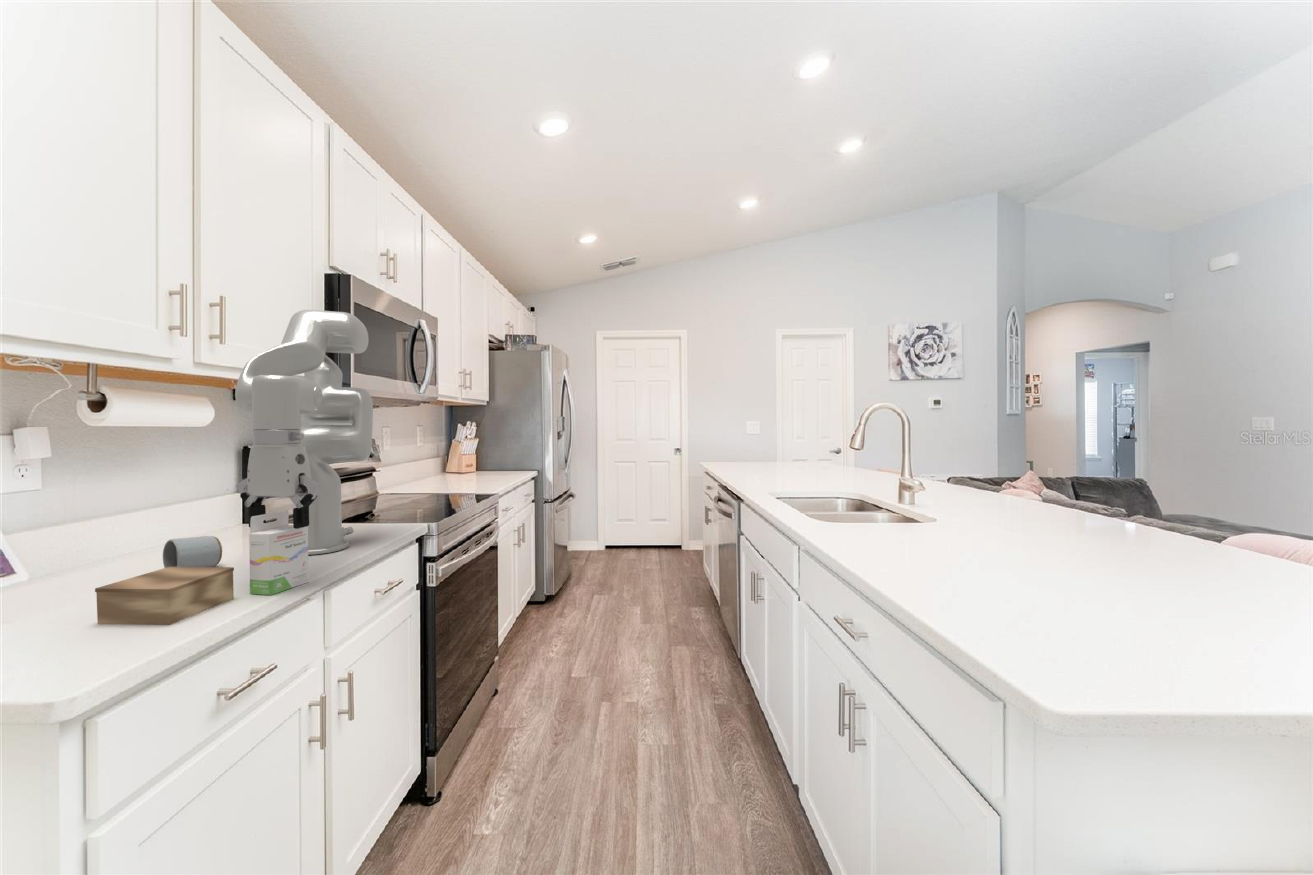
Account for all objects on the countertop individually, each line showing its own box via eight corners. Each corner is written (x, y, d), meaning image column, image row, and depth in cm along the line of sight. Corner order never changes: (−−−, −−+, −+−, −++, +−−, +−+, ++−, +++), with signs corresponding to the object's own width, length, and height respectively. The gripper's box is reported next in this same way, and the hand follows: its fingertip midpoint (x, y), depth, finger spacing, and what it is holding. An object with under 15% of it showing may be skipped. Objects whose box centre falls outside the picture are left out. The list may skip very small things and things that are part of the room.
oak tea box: (170, 599, 94) (169, 566, 94) (234, 600, 94) (233, 567, 94) (96, 625, 82) (95, 588, 82) (169, 626, 82) (168, 589, 81)
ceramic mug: (225, 568, 113) (224, 533, 113) (178, 578, 106) (176, 541, 106) (201, 562, 118) (200, 530, 118) (154, 572, 110) (153, 537, 110)
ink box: (270, 596, 95) (268, 518, 95) (248, 594, 96) (246, 516, 96) (310, 581, 104) (309, 509, 103) (290, 580, 105) (288, 509, 104)
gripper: (332, 438, 102) (334, 524, 102) (254, 438, 104) (256, 522, 104) (302, 439, 94) (304, 532, 95) (218, 439, 96) (221, 529, 97)
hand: (279, 526), depth 99 cm, fingers open, 9 cm apart
